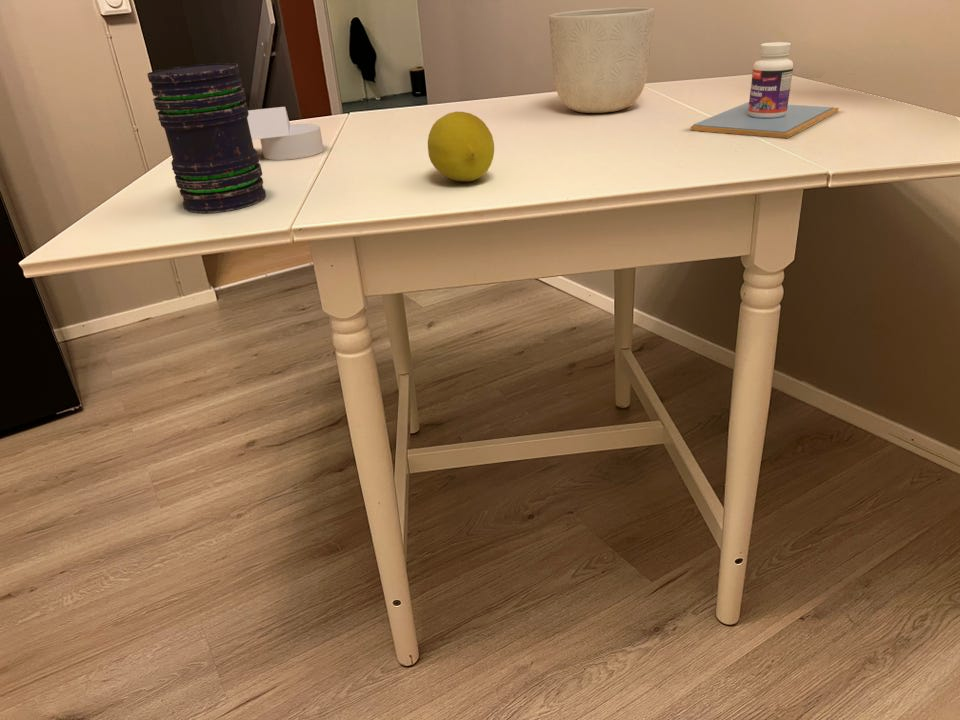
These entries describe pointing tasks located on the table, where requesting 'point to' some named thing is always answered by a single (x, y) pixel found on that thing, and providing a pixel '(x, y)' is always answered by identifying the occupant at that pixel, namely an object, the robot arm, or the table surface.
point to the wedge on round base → (283, 135)
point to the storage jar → (208, 136)
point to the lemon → (460, 146)
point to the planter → (601, 57)
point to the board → (765, 121)
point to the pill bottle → (771, 81)
